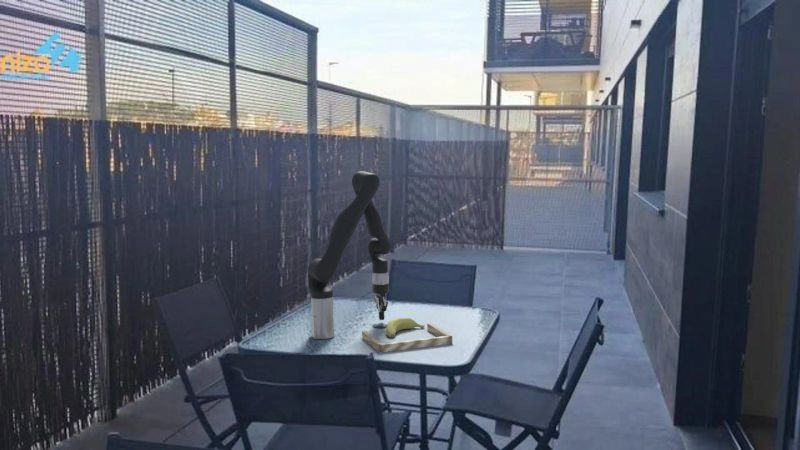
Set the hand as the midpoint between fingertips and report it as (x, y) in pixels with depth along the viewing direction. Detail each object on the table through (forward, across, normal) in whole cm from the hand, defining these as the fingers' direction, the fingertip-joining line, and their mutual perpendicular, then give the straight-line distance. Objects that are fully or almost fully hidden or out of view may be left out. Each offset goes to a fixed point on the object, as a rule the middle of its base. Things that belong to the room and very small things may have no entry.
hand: (381, 319), depth 316 cm
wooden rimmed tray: (+2, +32, 0) cm, 32 cm away
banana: (+2, +19, +4) cm, 20 cm away
